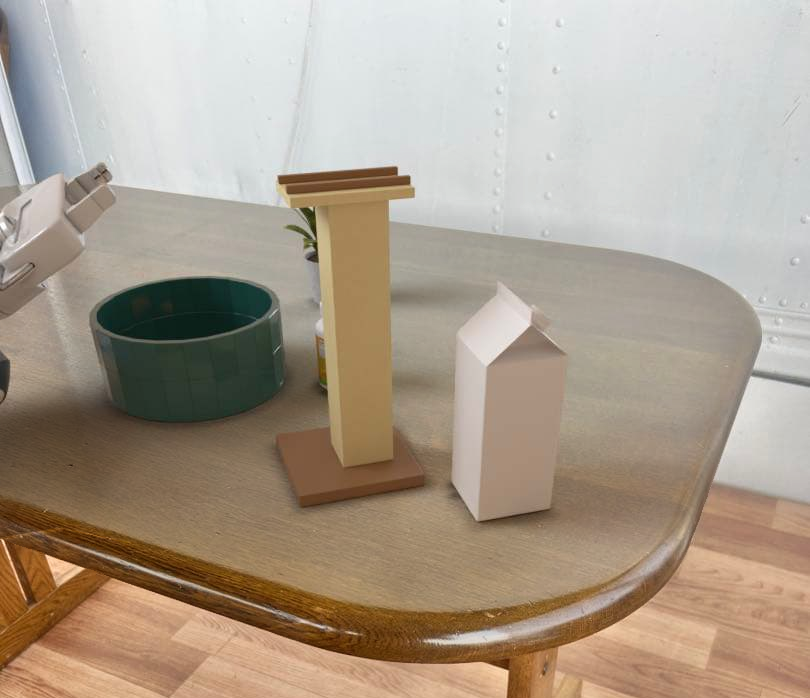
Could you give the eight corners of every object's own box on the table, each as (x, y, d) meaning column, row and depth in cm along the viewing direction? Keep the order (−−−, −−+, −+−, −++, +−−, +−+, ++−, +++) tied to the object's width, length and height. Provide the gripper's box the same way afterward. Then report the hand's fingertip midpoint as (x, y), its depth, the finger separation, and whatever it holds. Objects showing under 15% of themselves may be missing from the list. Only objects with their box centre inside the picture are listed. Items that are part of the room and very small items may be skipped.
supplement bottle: (336, 369, 98) (331, 290, 92) (374, 379, 96) (371, 298, 90) (310, 386, 94) (303, 305, 88) (348, 397, 92) (344, 314, 86)
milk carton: (476, 523, 72) (489, 316, 60) (450, 482, 77) (457, 285, 66) (550, 510, 73) (575, 306, 62) (520, 471, 79) (537, 276, 68)
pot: (109, 434, 85) (89, 354, 80) (105, 358, 101) (88, 286, 96) (302, 406, 90) (295, 328, 85) (269, 337, 106) (261, 268, 101)
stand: (300, 507, 74) (269, 201, 58) (276, 445, 83) (244, 166, 67) (424, 485, 77) (427, 187, 61) (388, 427, 86) (382, 156, 70)
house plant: (358, 326, 109) (353, 198, 99) (265, 314, 112) (251, 190, 103) (393, 291, 120) (392, 172, 110) (308, 281, 123) (299, 166, 114)
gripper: (-34, 267, 72) (88, 174, 71) (-15, 208, 88) (85, 131, 87) (21, 322, 76) (137, 234, 75) (30, 256, 92) (126, 183, 91)
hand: (109, 179), depth 81 cm, fingers open, 8 cm apart
